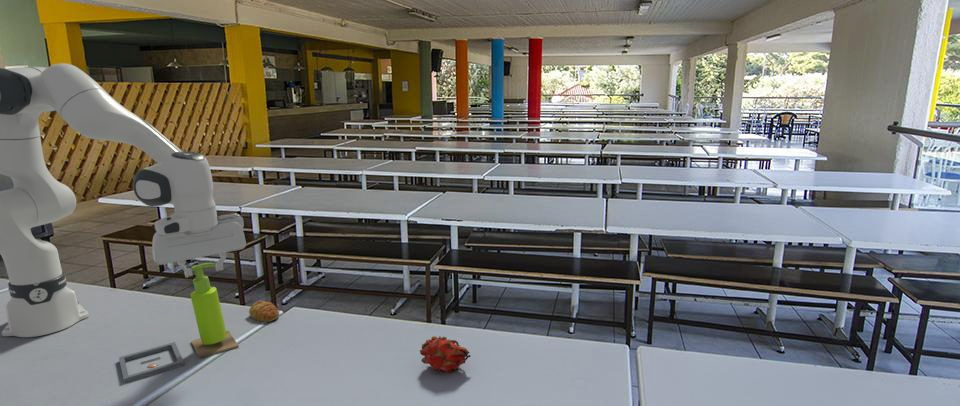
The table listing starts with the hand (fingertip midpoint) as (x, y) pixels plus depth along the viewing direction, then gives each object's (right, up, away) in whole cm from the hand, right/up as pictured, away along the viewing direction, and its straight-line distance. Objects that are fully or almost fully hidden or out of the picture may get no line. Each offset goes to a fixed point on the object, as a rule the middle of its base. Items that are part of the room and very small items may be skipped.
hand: (204, 273), depth 131 cm
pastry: (+7, -15, +21) cm, 27 cm away
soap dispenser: (+1, -17, +4) cm, 18 cm away
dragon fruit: (+60, -22, -7) cm, 64 cm away
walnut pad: (0, -19, +5) cm, 20 cm away
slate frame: (-11, -21, -4) cm, 24 cm away
